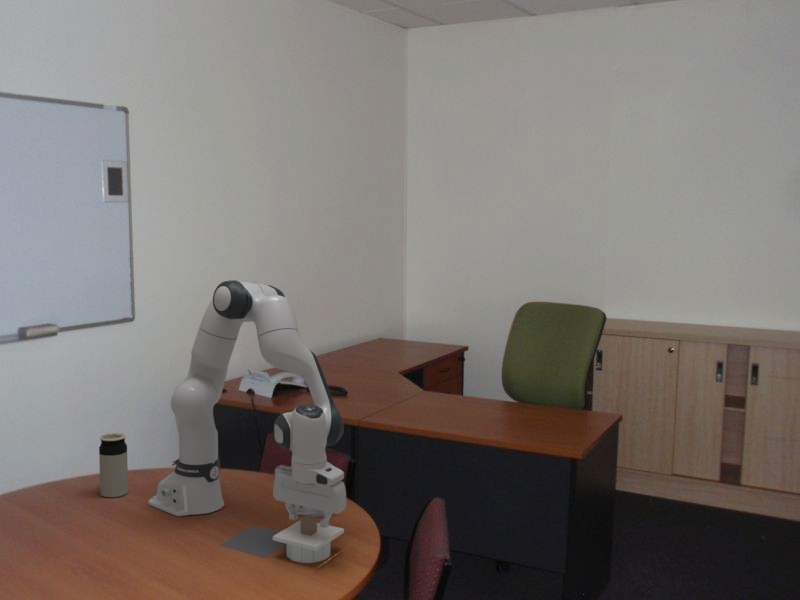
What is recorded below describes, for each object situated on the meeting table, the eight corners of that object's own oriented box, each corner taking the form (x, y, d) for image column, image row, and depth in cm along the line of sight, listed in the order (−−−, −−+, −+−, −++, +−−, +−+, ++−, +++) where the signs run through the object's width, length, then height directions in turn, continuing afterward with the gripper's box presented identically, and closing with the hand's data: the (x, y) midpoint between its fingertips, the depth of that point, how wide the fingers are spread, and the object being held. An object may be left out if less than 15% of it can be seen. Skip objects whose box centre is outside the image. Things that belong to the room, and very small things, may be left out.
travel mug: (122, 498, 248) (121, 440, 246) (96, 498, 248) (94, 439, 246) (131, 489, 256) (130, 432, 254) (106, 488, 256) (104, 432, 254)
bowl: (278, 558, 209) (278, 539, 209) (303, 542, 219) (303, 524, 218) (314, 568, 204) (315, 548, 204) (338, 551, 214) (338, 533, 213)
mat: (218, 546, 216) (218, 545, 216) (254, 527, 229) (254, 525, 229) (265, 559, 209) (265, 557, 209) (299, 538, 222) (299, 536, 222)
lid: (272, 540, 208) (272, 521, 208) (302, 522, 220) (302, 504, 219) (316, 551, 202) (316, 531, 202) (343, 532, 214) (344, 513, 213)
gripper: (268, 466, 211) (268, 519, 213) (336, 480, 202) (335, 535, 203) (282, 460, 216) (282, 510, 218) (349, 473, 207) (349, 526, 209)
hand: (308, 522), depth 211 cm, fingers open, 8 cm apart
